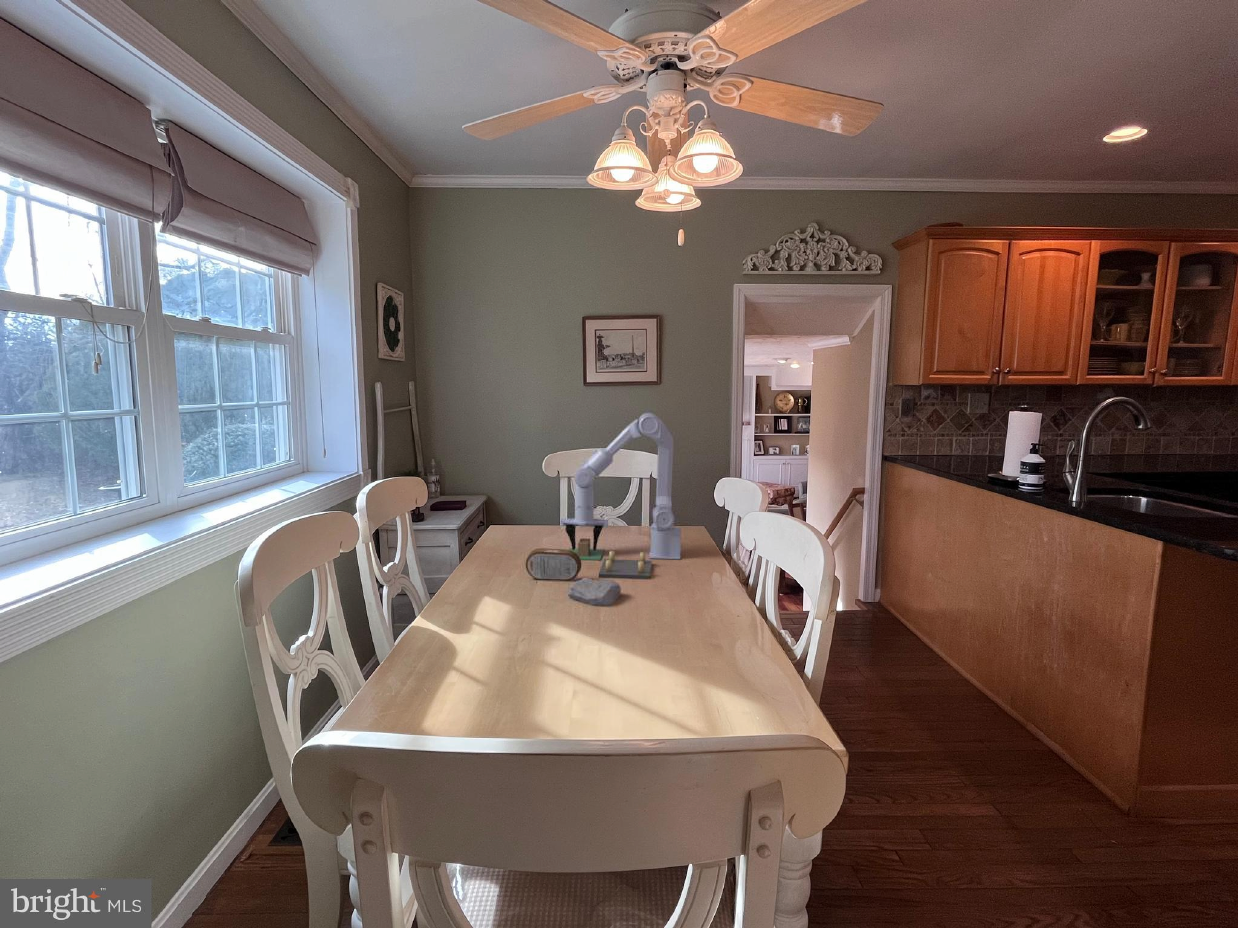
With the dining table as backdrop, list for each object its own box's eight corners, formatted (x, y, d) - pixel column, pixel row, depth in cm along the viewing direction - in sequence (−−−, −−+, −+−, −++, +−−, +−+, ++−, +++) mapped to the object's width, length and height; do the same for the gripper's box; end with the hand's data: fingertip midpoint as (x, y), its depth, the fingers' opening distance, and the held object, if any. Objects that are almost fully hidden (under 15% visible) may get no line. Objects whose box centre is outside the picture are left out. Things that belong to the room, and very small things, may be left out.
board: (603, 552, 194) (603, 537, 193) (600, 562, 183) (600, 546, 182) (569, 551, 195) (569, 536, 194) (563, 561, 184) (563, 545, 183)
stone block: (607, 615, 146) (623, 594, 154) (604, 597, 144) (621, 577, 153) (563, 609, 151) (582, 589, 159) (561, 591, 149) (580, 572, 158)
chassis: (651, 563, 180) (651, 550, 180) (649, 579, 166) (649, 564, 166) (604, 562, 181) (604, 549, 181) (598, 577, 168) (598, 563, 167)
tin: (581, 578, 166) (581, 548, 165) (579, 582, 163) (579, 552, 162) (527, 576, 168) (527, 546, 167) (524, 580, 165) (524, 550, 164)
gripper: (558, 508, 183) (558, 552, 185) (606, 509, 182) (606, 553, 184) (562, 503, 190) (562, 545, 192) (608, 504, 189) (608, 547, 191)
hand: (584, 549), depth 189 cm, fingers open, 6 cm apart
